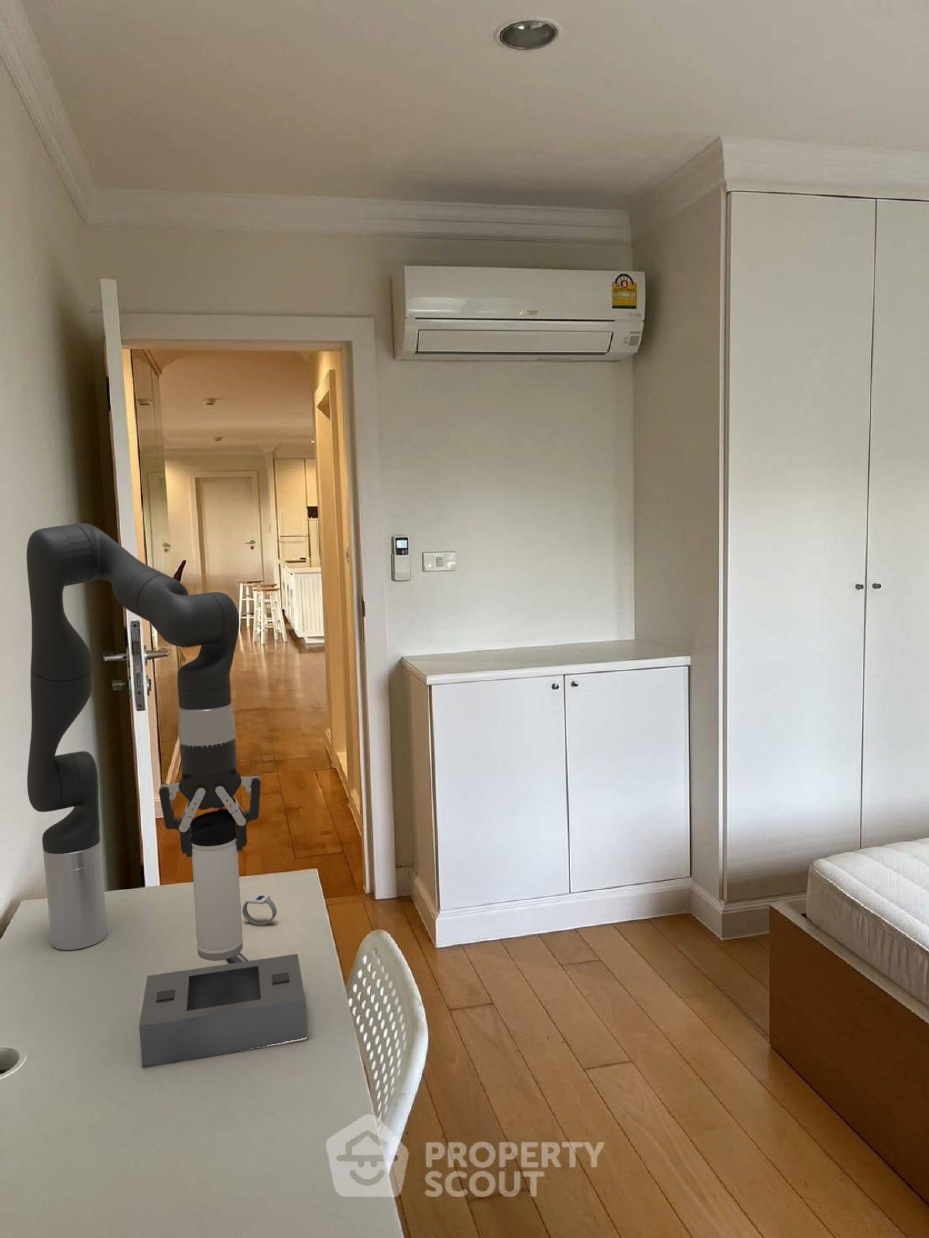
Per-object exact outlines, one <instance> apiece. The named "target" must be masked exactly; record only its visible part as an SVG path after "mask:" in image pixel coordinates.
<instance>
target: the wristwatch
mask: <svg viewBox="0 0 929 1238" xmlns="http://www.w3.org/2000/svg"><path fill="white" fill-rule="evenodd" d="M249 904H255V905H266V904H267V905H268V906H269V908H270V909H271V913H272V915H271V917H270V919H267V920H258V919H256V918H254V917H252V916H251V915H250V913H249V911H248V905H249ZM241 913H242V915H243V918H244V919H246V920H247V921H248V922H249V923H251V924H253V925H256V926H265V925H268V924H269V923H271V922H272V921H273V920H274V918H276V917H277V906H276V904H275V903H274V902H273V900H272V899H271V895H267V894H255V893H253V894H252V895H251V896H250V897H248V899H247V900H246V901H245V903H244V904H243V906H242V910H241Z"/></svg>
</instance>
